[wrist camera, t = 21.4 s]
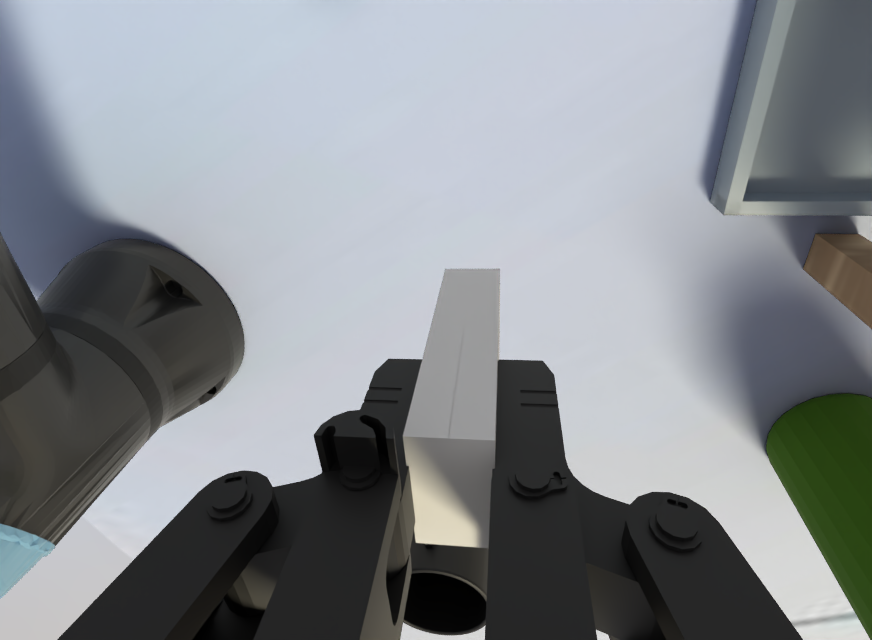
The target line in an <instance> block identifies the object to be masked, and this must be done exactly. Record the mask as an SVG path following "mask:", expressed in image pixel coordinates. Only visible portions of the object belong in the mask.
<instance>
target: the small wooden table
mask: <svg viewBox="0 0 872 640" xmlns="http://www.w3.org/2000/svg"><path fill="white" fill-rule="evenodd" d="M803 270H805V271H806V272H807V273H808V274H809V275H810V276H811V277H813V278H814V279H815V280H816V281H817V282H818V283H819V284H821V285H822V286H823V287H824V288H825V289H826V290H827V291H829V292H830V293H831V294H832V295H833V296H834V297H835V298H837V299H838V300H839V301H840V302H841V303H842V304H844V305H845V306H846V307H847V308H848V309H849V310H850V311H852V312H853V313H854V314H855V315H856V316H857V317H858V318H860V319H861V320H862V321H863V322H864V323H865V324H866V325H868V326H869V327H870V328H871V329H872V242H871V241H869V240H867V239H866V238H864V237H863V236H861V235H859V234H815V237H814V240H813V242H812V245H811V248H810V251H809V254H808V256H807V259H806V262H805V265H804V268H803Z"/></svg>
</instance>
